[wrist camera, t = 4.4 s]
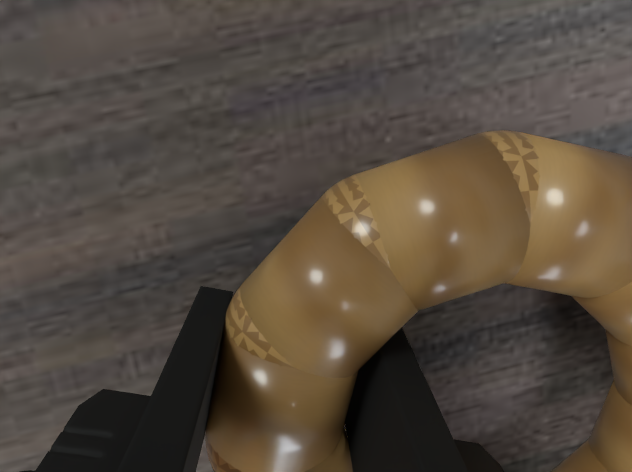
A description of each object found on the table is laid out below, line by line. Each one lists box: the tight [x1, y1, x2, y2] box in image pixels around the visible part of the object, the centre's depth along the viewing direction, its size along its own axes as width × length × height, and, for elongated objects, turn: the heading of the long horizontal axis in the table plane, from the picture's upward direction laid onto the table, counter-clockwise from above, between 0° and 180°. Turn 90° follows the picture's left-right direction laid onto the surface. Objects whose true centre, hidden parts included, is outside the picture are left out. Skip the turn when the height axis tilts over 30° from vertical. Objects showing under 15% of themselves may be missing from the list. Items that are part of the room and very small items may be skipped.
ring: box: [205, 130, 632, 472], centre depth 11 cm, size 12×12×3 cm
